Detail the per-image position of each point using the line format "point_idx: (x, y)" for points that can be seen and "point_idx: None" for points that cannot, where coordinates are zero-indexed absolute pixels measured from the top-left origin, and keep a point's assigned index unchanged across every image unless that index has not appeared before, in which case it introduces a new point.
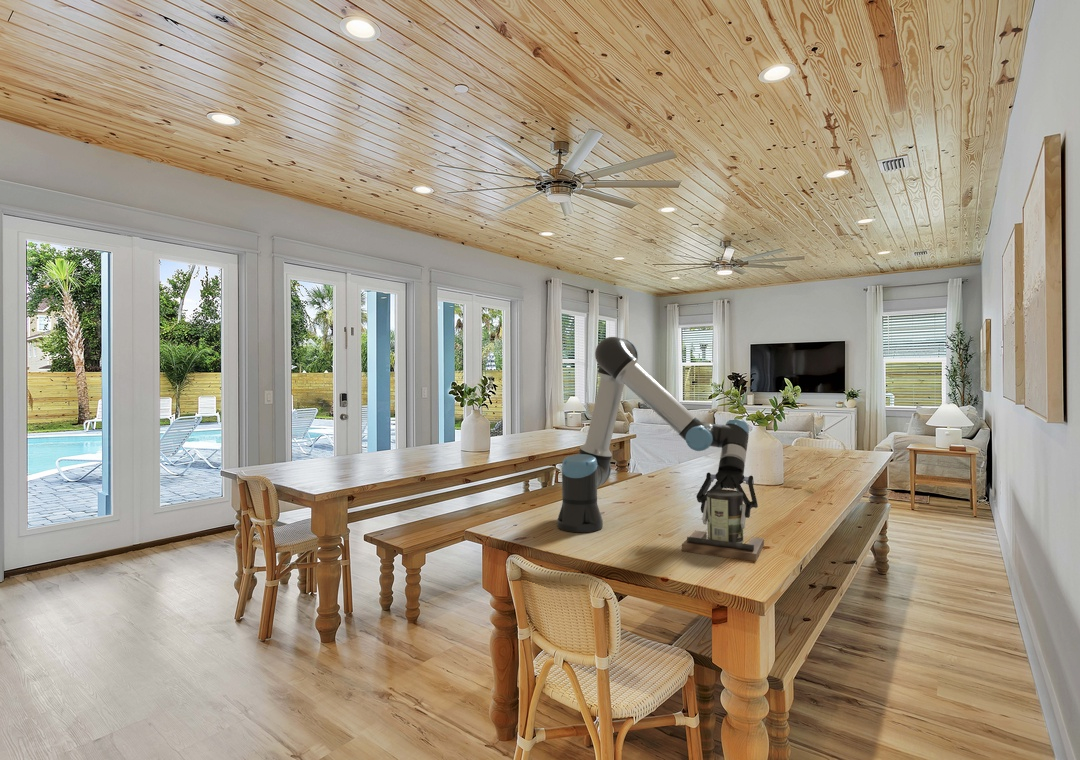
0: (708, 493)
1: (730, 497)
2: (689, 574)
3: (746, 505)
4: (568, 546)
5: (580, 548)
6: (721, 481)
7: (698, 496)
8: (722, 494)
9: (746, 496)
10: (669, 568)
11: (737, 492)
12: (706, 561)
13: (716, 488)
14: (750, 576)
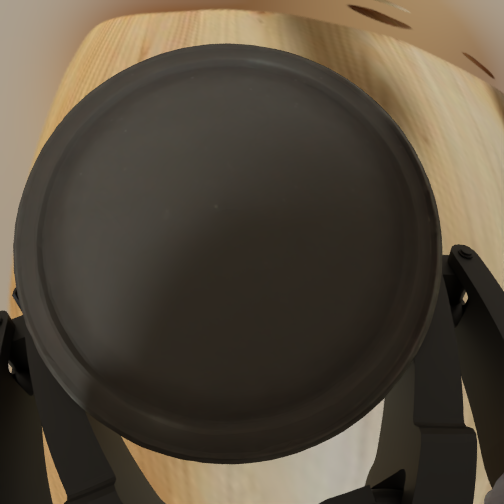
0: (361, 90)
1: (122, 77)
2: (227, 30)
3: None
4: (478, 99)
5: (464, 93)
6: (414, 495)
7: (462, 247)
8: (223, 117)
9: (29, 356)
10: (278, 38)
11: (92, 366)
12: None
13: (412, 384)
14: (106, 77)
